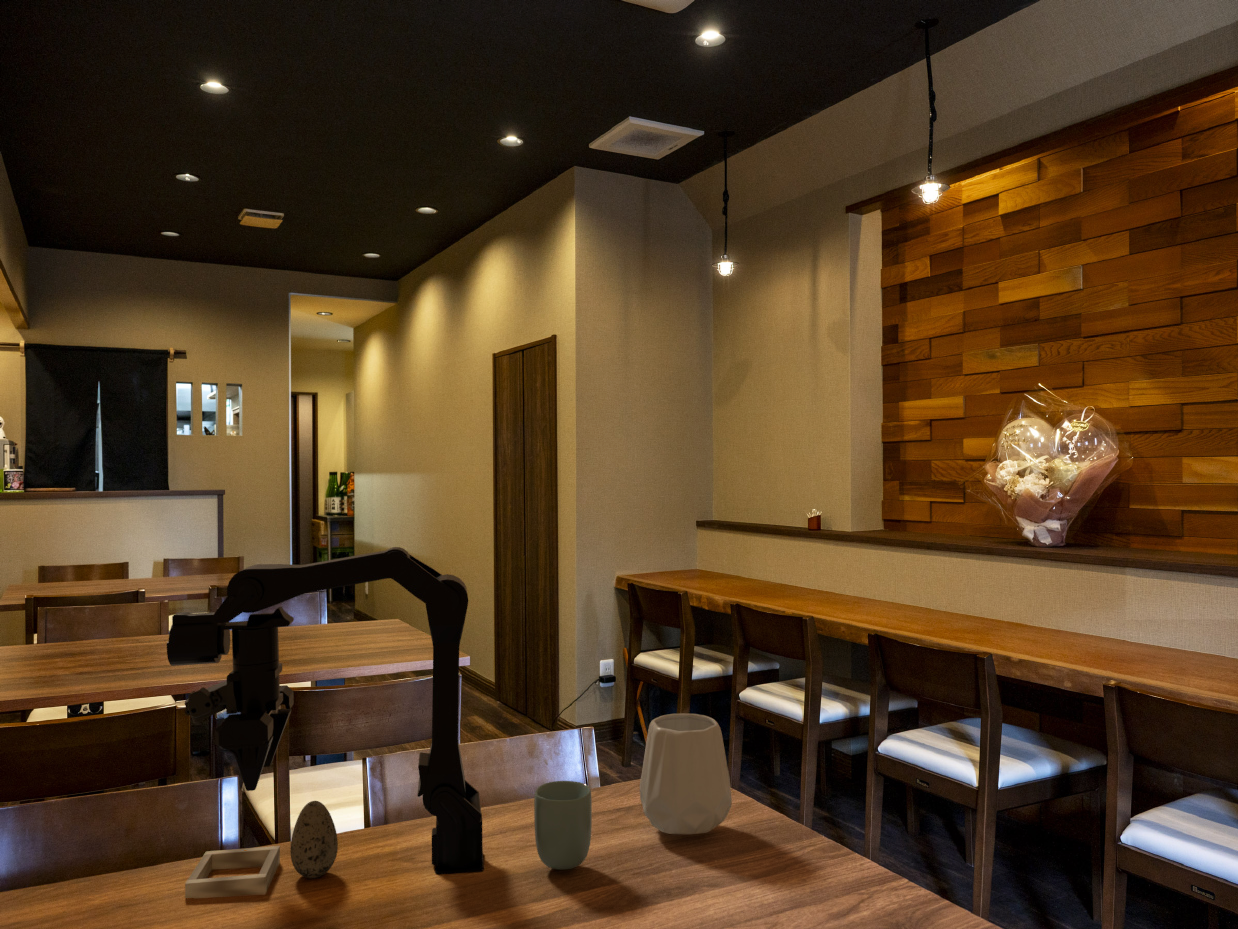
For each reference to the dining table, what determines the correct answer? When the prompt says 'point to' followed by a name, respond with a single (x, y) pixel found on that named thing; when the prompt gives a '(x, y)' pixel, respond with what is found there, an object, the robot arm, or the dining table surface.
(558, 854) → the cup
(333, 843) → the decorative egg
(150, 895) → the dining table surface
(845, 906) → the dining table surface
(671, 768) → the vase
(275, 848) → the egg stand
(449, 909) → the dining table surface
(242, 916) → the dining table surface
